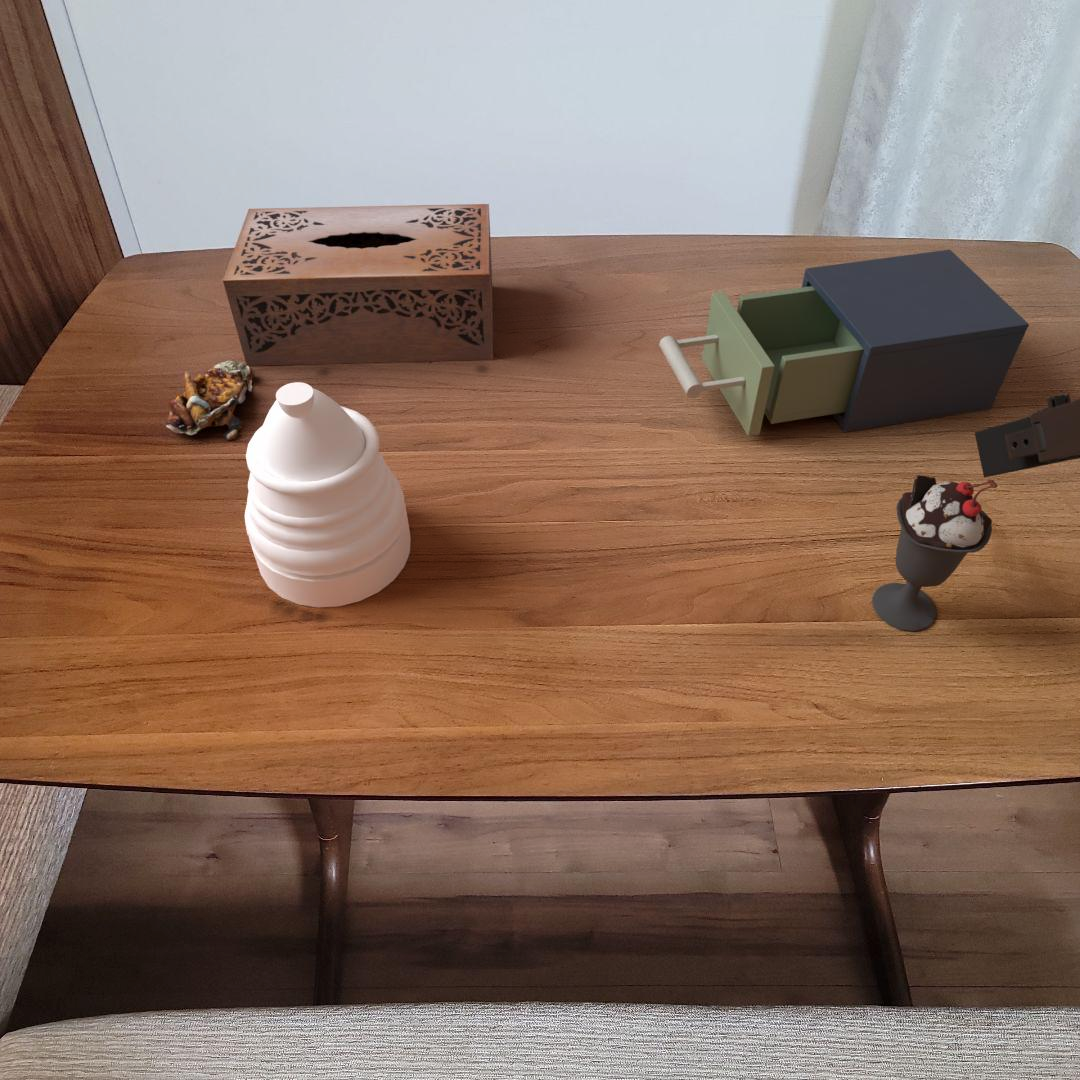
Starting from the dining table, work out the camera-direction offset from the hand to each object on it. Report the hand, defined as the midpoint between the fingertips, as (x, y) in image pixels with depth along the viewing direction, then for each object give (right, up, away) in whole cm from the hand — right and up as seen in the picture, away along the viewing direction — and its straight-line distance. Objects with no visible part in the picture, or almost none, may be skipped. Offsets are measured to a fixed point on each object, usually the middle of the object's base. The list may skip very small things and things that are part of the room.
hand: (990, 452), depth 54 cm
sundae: (+3, -11, +20) cm, 23 cm away
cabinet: (+9, +11, +41) cm, 43 cm away
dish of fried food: (-59, +8, +38) cm, 71 cm away
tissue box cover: (-45, +19, +48) cm, 68 cm away
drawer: (-4, +10, +38) cm, 39 cm away
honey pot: (-44, -6, +25) cm, 51 cm away
